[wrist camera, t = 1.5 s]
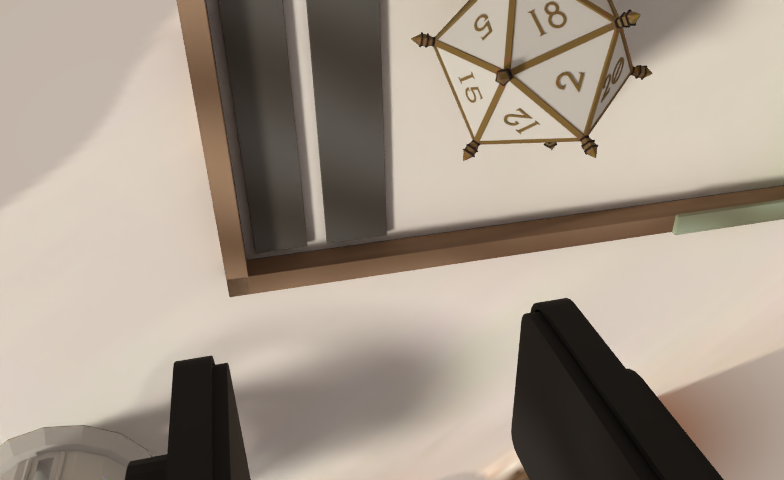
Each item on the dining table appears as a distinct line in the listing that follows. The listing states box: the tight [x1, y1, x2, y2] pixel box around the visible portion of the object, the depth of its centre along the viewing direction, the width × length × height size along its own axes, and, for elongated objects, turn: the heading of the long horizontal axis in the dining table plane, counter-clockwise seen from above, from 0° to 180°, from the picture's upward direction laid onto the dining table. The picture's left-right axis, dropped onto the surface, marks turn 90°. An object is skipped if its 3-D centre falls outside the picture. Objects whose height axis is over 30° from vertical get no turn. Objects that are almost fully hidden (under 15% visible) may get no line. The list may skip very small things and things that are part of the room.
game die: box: [411, 0, 653, 161], centre depth 27 cm, size 9×8×10 cm
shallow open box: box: [177, 0, 784, 297], centre depth 29 cm, size 22×33×4 cm
